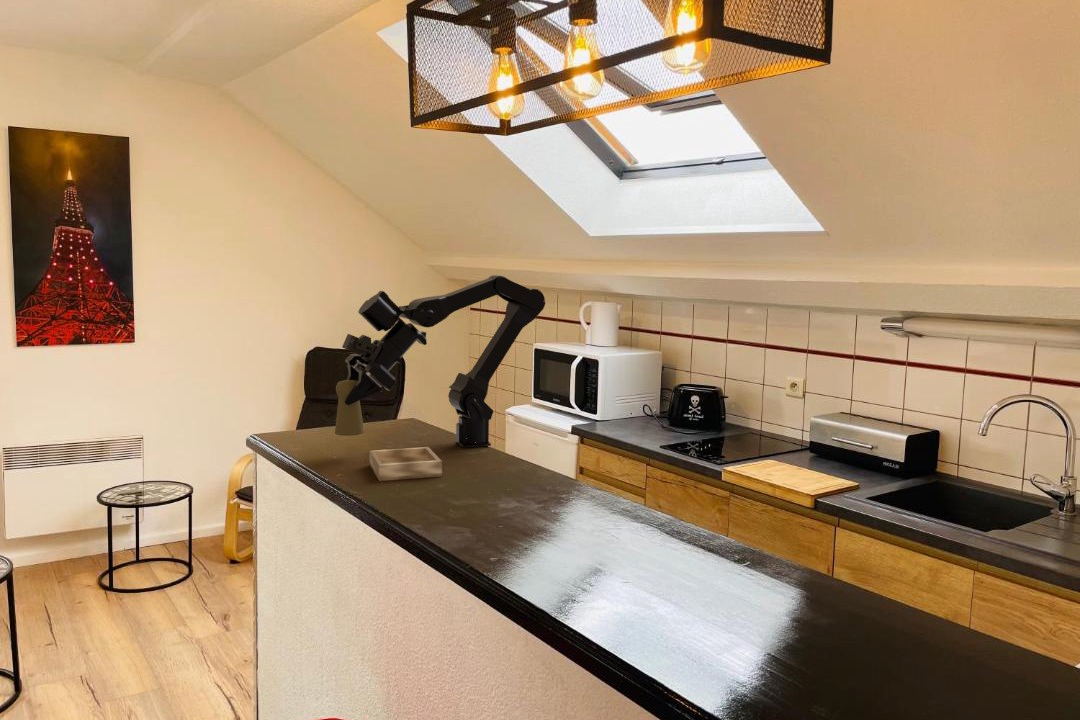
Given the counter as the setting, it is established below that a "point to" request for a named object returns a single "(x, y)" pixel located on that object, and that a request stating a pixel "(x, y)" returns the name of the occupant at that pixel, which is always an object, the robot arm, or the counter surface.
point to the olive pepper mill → (348, 411)
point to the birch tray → (405, 463)
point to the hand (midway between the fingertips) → (342, 401)
